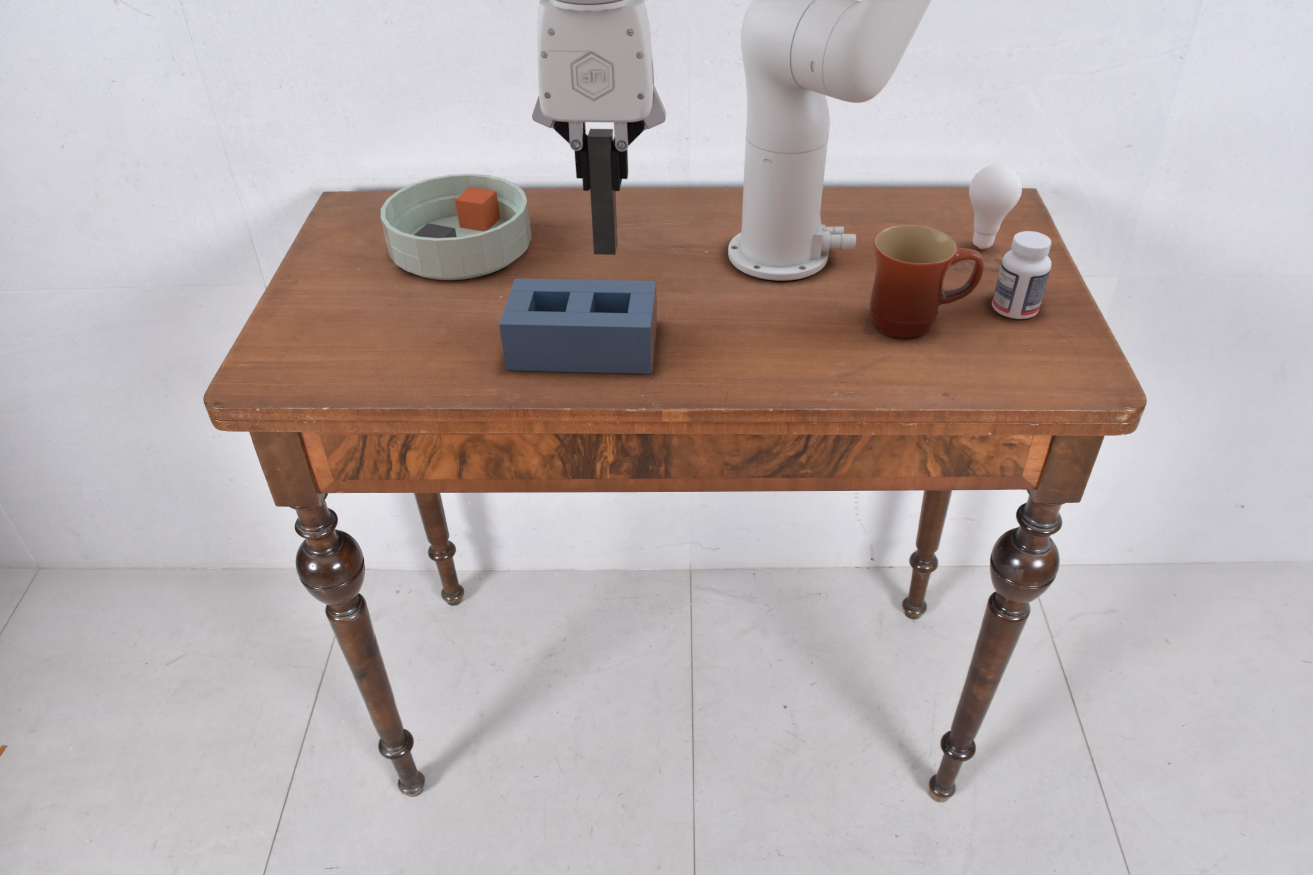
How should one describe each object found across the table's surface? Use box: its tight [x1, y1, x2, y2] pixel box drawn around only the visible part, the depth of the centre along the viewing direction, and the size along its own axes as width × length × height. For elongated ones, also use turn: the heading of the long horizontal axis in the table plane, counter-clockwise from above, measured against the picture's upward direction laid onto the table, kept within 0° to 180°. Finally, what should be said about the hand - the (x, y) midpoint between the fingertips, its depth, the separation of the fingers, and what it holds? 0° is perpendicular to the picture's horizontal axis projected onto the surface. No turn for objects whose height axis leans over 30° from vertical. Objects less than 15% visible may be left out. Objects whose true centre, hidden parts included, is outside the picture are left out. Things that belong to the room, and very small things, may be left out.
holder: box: [498, 277, 658, 375], centre depth 101 cm, size 9×16×6 cm, turn 86°
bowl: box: [380, 173, 532, 281], centre depth 119 cm, size 18×18×6 cm
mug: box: [869, 224, 985, 339], centre depth 102 cm, size 12×9×10 cm
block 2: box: [455, 187, 500, 231], centre depth 123 cm, size 4×4×4 cm
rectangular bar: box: [587, 128, 619, 256], centre depth 90 cm, size 2×2×12 cm
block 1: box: [414, 223, 457, 238], centre depth 115 cm, size 4×4×4 cm
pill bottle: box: [991, 230, 1052, 320], centre depth 105 cm, size 5×5×9 cm
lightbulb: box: [968, 163, 1023, 250], centre depth 115 cm, size 6×6×11 cm
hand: (603, 183), depth 90 cm, fingers closed on rectangular bar, 2 cm apart
